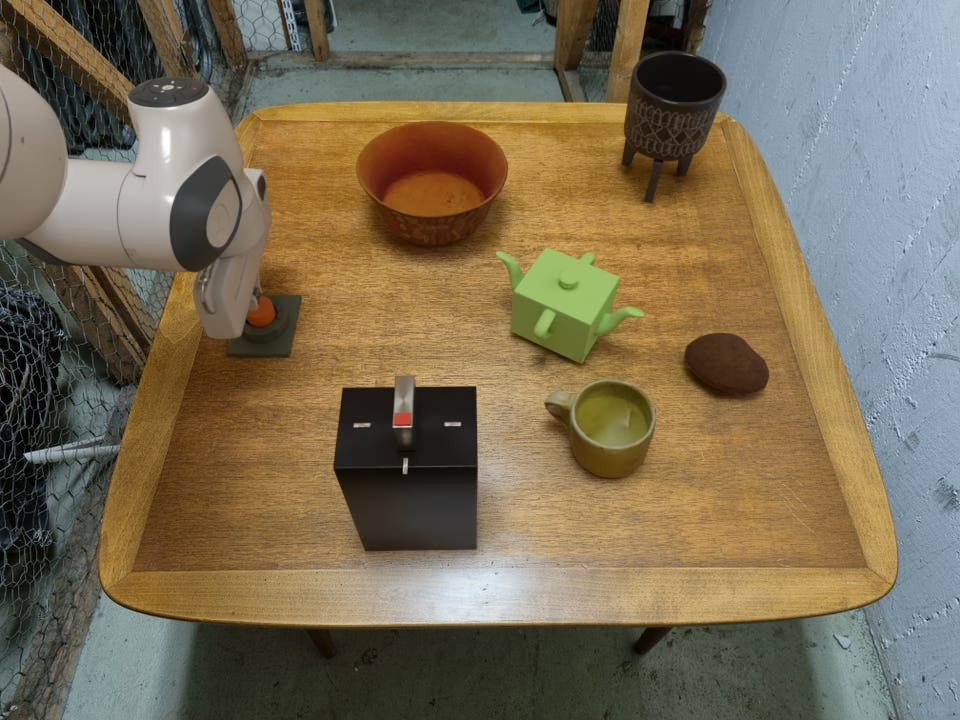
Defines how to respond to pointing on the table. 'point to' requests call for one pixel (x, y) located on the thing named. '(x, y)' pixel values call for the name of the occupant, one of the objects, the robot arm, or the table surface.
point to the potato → (727, 363)
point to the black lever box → (410, 469)
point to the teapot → (564, 302)
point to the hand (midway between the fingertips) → (253, 301)
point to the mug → (606, 425)
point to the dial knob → (405, 413)
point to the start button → (262, 313)
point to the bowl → (432, 179)
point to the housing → (269, 331)
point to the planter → (670, 110)
